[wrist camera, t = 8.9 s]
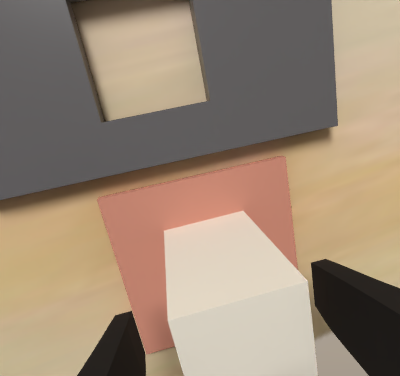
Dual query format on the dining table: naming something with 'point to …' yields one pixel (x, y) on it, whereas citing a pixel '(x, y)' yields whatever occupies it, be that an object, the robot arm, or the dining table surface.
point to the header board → (166, 119)
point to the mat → (183, 215)
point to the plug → (236, 302)
